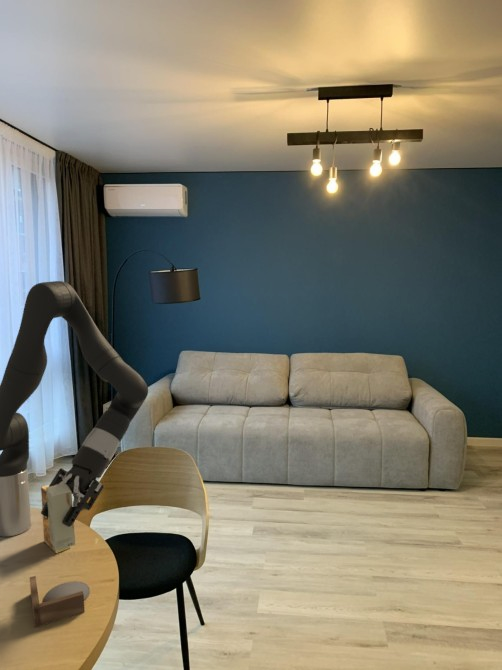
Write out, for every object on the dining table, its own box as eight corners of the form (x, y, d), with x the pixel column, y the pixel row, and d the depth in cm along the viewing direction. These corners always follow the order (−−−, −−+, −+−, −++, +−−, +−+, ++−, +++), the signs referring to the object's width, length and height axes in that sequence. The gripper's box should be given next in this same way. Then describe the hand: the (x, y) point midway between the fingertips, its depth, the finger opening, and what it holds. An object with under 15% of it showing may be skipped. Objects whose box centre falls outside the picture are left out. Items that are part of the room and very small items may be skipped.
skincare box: (76, 545, 106) (72, 492, 104) (54, 552, 103) (51, 497, 102) (69, 533, 111) (66, 481, 110) (49, 538, 109) (45, 486, 107)
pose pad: (48, 585, 112) (48, 584, 112) (92, 579, 114) (92, 578, 114) (39, 613, 103) (39, 611, 103) (86, 606, 105) (86, 604, 105)
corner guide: (30, 594, 109) (29, 577, 109) (76, 581, 114) (75, 565, 113) (34, 627, 98) (33, 608, 98) (84, 611, 103) (83, 594, 102)
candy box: (43, 541, 132) (39, 487, 130) (58, 535, 135) (55, 482, 133) (55, 554, 125) (52, 497, 124) (72, 547, 128) (68, 492, 127)
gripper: (67, 439, 115) (23, 505, 107) (106, 450, 107) (63, 522, 99) (87, 454, 120) (47, 518, 112) (126, 465, 112) (86, 535, 104)
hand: (55, 520), depth 105 cm, fingers closed on skincare box, 7 cm apart
